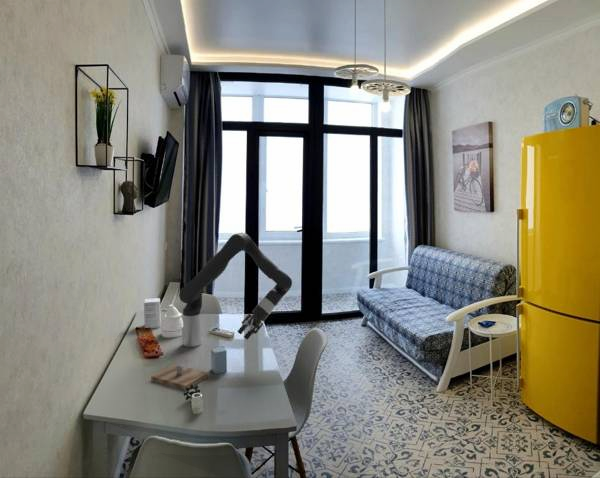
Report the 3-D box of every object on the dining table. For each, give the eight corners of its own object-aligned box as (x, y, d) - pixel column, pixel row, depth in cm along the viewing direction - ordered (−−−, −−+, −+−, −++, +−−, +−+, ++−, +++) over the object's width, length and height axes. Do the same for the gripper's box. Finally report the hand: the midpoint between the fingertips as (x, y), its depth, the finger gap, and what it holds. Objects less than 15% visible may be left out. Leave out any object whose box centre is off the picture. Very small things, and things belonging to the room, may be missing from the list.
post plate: (151, 380, 172) (150, 367, 172) (174, 368, 185) (174, 356, 184) (185, 390, 163) (185, 376, 163) (207, 376, 176) (207, 364, 175)
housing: (215, 373, 179) (214, 352, 178) (211, 369, 184) (211, 348, 183) (226, 371, 182) (226, 350, 181) (222, 366, 187) (222, 346, 186)
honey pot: (180, 337, 226) (179, 307, 225) (158, 337, 227) (157, 307, 225) (187, 330, 239) (186, 301, 237) (166, 330, 239) (165, 301, 238)
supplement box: (145, 324, 250) (144, 298, 249) (160, 323, 253) (160, 297, 251) (144, 329, 241) (143, 302, 240) (160, 327, 244) (159, 301, 242)
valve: (207, 412, 147) (200, 398, 157) (207, 395, 146) (199, 382, 157) (189, 416, 144) (183, 401, 154) (189, 399, 143) (182, 385, 154)
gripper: (253, 301, 196) (231, 327, 192) (264, 308, 184) (242, 335, 179) (262, 310, 199) (242, 335, 195) (275, 317, 187) (253, 344, 183)
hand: (242, 335), depth 187 cm, fingers open, 8 cm apart
